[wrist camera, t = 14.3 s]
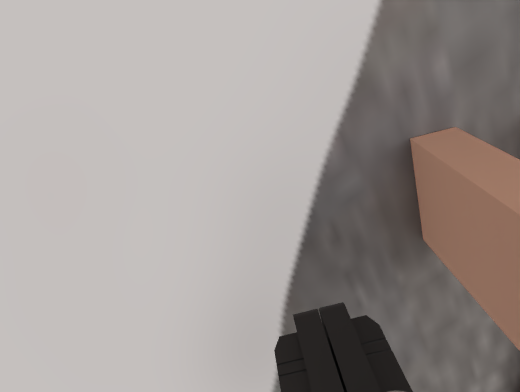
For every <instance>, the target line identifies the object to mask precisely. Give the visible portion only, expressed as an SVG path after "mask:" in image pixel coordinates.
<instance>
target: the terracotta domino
mask: <svg viewBox="0 0 520 392" xmlns="http://www.w3.org/2000/svg"><path fill="white" fill-rule="evenodd" d="M410 142H411V150H412V157H413V165H414V173H415V180H416V188H417V196H418V203H419V211H420V219H421V226H422V234H423V240H424V241H425V242H426V243H427V245H428V246H429V247H430V248H431V249H432V250H433V252H434V253H435V254H436V255H437V256H438V257H439V258H440V260H441V261H442V262H443V263H444V264H445V265H446V267H447V268H448V269H449V270H450V271H451V272H452V273H453V275H454V276H455V277H456V278H457V279H458V280H459V281H460V283H461V284H462V285H463V286H464V287H465V288H466V290H467V291H468V292H469V293H470V294H471V295H472V296H473V298H474V299H475V300H476V301H477V302H478V303H479V305H480V306H481V307H482V308H483V309H484V310H485V311H486V313H487V314H488V315H489V316H490V317H491V318H492V320H493V321H494V322H495V323H496V324H497V325H498V326H499V328H500V329H501V330H502V331H503V332H504V333H505V335H506V336H507V337H508V338H509V339H510V340H511V341H512V343H513V344H514V345H515V346H516V347H517V348H518V350H519V351H520V160H519V159H517V158H515V157H513V156H512V155H510V154H508V153H506V152H504V151H502V150H500V149H498V148H496V147H494V146H492V145H490V144H488V143H486V142H484V141H482V140H480V139H478V138H476V137H474V136H472V135H471V134H469V133H467V132H465V131H463V130H461V129H459V128H457V127H453V128H449V129H445V130H441V131H438V132H434V133H430V134H426V135H422V136H418V137H414V138H410Z"/></svg>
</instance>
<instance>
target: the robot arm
mask: <svg viewBox="0 0 520 392" xmlns="http://www.w3.org/2000/svg"><path fill="white" fill-rule="evenodd" d="M319 311H320V316H321V319H320V316H319V313H318V310H317V309H314V310H310V311H306V312H302V313H298V314H294V315H293V316H294V320H295V325H296V329H297V332H296V333H292V334H288V335H284V336H280V337H279V340H278V342H277V345H276V348H275V350H274V351H275V357H276V363H277V369H278V375H279V381H280V388H281V392H413V391H412V390H411V388H410V386H409V384H408V382H407V380H406V378H405V376H404V374H403V372H402V370H401V368H400V366H399V364H398V362H397V360H396V358H395V356H394V354H393V352H392V351H391V348H390V346H389V344H388V342H387V340H386V338H385V336H384V334H383V332H382V330H381V328H380V326H379V324H377V323H376V322H375V321H373V320H372V319H371V318H369V317H368V316H367V315H365V316H361V317H357V318H353V319H350V316H349V314H348V312H347V309H346V307H345V304H344V303H343V302H342V303H338V304H334V305H330V306H326V307H322V308H319ZM321 321H322V322H321Z"/></svg>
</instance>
